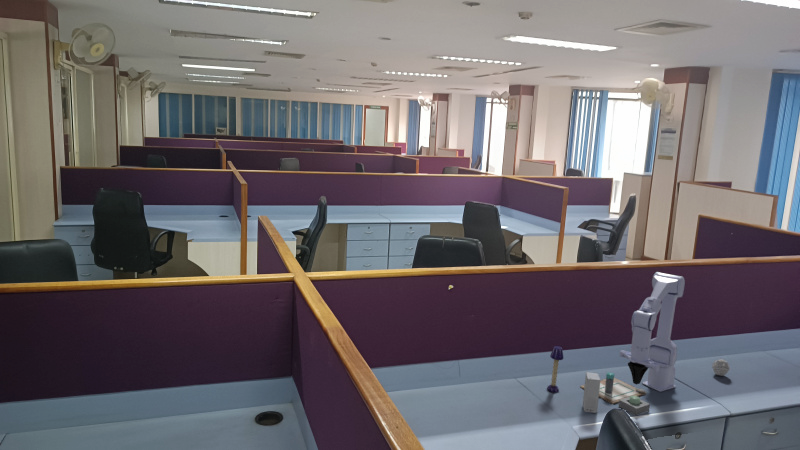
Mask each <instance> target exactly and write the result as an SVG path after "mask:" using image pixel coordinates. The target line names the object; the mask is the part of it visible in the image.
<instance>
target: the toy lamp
mask: <svg viewBox="0 0 800 450" xmlns="http://www.w3.org/2000/svg"><path fill="white" fill-rule="evenodd" d="M550 358H551V359H552V360H553V365H552V373H551V382H550V384H549V385H547V388H546V390H547V392H549V393H550V392H551V393H553V394H555V393H559V391H560V389H559V387H558V386H557V383H556V382H557V377H558V373H559V371H558V370H559V362H560V361H562V360H564V352H563V348H562V347H561V346H558V345H555V346H554V347H553V348H552V350H551V353H550Z"/></svg>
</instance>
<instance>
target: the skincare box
mask: <svg viewBox="0 0 800 450" xmlns="http://www.w3.org/2000/svg"><path fill="white" fill-rule="evenodd" d="M584 379H585V380H584V385H585V387H584V389H583V396H582V397H583V398H582V407H583V411H584V412H585V413H594V414H598V407H599V398H600V397H599V389H600V380H601V378H600V376H599V373H595V372H588V371H587V372H585V378H584Z"/></svg>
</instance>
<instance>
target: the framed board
mask: <svg viewBox="0 0 800 450" xmlns="http://www.w3.org/2000/svg"><path fill="white" fill-rule="evenodd" d="M605 385H606V378H604V379H600V389H599V398H600V399H602V400H604V401H605V402H608V403H609V404H612V405H615V404H619V400H620V399H624V398H627V397H630V396H637V397H641V396H644V395H647V392H646V390H645V389H643V388H638V387H635V386H633V385H630V384H629V383H626V381H625V382H624V381H622V380H621V379H619V378H616V377H614V382H613V391H612V394H608V393H606V392H605ZM579 386H580V389H583V390H584V387H585V384H582V385H579Z"/></svg>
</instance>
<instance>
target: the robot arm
mask: <svg viewBox="0 0 800 450" xmlns="http://www.w3.org/2000/svg"><path fill="white" fill-rule="evenodd" d="M685 283H686V281H685V278H684V276H682V275H681V276H680V275H675V274H669V273H663V272H659V271H656V272H655V273H654V274H653V275H652V280H651V285H652V289H653V290H652V292H651V295H650V296H648V297H646V298H645V299H644V301H643V302H642V304H641V306H640V307H639V309H638V310H635V311H634V312H633V313H632V316H631V332H632V339H631V349H630V351H627V350H622V349H621V350H620V351H619V357H620V358H625V359H627V360H629V362H628V363H627V366H628V368H629V370H630V373H631V378H632V383H633V384H635V385H640V384H641V383H642V385H644V386H647V387H648V388H651V389H653V390H656V391H658V392H660V393H661V392H665V391H668V390H671V389H674V388H676V385H675V384H674V383H675V377H676V368H675V364H676V362H677V358H678V353H677V352H678V346H677V345H676V344H675V343H674V342H673V341H672V339H671V335H672V330H673V324H674V316H675V309H676V304H677V301H678V298H682V297H683V295H684V290H685ZM658 314H659V317H658V318H659V319H658V325H657V331H656V337H654V338H652V333H653V332H652V331H653V330H654V328H655V324H656V323H657V316H658ZM647 371H648V375H647V380H646V381H643V382H641V381H642V379H643V377H644V375H645V374H646V372H647Z"/></svg>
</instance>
